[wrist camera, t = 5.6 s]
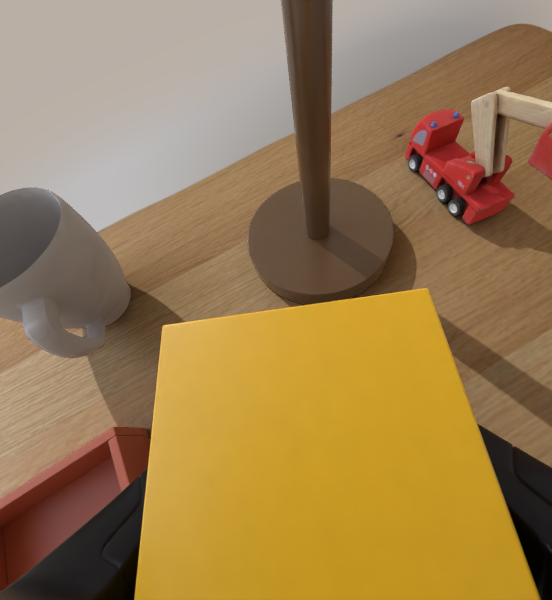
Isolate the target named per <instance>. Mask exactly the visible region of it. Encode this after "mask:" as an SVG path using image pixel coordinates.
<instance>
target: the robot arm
mask: <svg viewBox="0 0 552 600" xmlns="http://www.w3.org/2000/svg"><path fill="white" fill-rule="evenodd" d="M478 427H479V430H480V433H481V436H482V438H483V441H484V444H485V447H486V449H487V452H488V455H489V458H490V460H491V463H492V466H493V469H494V471H495V474H496V477H497V480H498V483H499V485H500V488H501V491H502V494H503V496H504V499H505V502H506V505H507V507H508V510H509V513H510V516H511V518H512V521H513V524H514V527H515V530H516V532H517V535H518V538H519V541H520V543H521V546H522V549H523V552H524V554H525V557H526V560H527V563H528V565H529V568H530V571H531V574H532V577H533V579H534V582H535V585H536V588H537V590H538V593H539V596H540V599H541V600H552V468H551V467H549V466H548V465H546V464H544V463H542V462H541V461H539V460H537V459H535V458H534V457H532V456H530V455H529V454H527V453H525V452H524V451H522V450H520V449H519V448H517V447H513V446H512V444H510V443H509V442H507V441H505V440H504V439H502V438H500V437H499V436H497V435H495V434H494V433H492V432H490V431H489V430H487V429H485V428H484V427H482V426H480V425H479V424H478ZM147 471H148V468H147V469H145V470H144V471H143V472H142V473H141V475H140V477H139V476H138V477H137V478H136V479H135V480H134V481H133V482H132V483H130V484H129V485H128V486H127V487H126V488H125V489H124V490H123V491H122V492H121V493H120V494H119V495H117V496H116V497H115V498H114V499H113V500H112V501H111V502H110V503H109V504H107V505H106V506H105V507H104V508H103V509H102V510H101V511H99V512H98V513H97V514H96V515H95V516H93V517H92V518H91V519H90V520H89V521H88V522H86V523H85V524H84V525H83V526H82V527H80V528H79V529H78V530H77V531H76V532H74V533H73V534H72V535H71V536H70V537H68V538H67V539H66V540H65V541H64V542H62V543H61V544H60V545H59V546H58V547H56V548H55V549H54V550H53V551H52V552H50V553H49V554H48V555H47V556H46V557H44V558H43V559H42V560H41V561H39V562H38V563H37V564H36V565H35V566H33V567H32V568H31V569H30V570H29V571H27V572H26V573H25V574H24V575H22V576H21V577H20V578H19V579H17V580H16V581H15V582H14V583H12V584H11V585H9V586H8V587H6V588H5V589H3V590H2V591H0V600H134V598H135V588H136V578H137V568H138V559H139V549H140V539H141V530H142V520H143V510H144V500H145V491H146V481H147Z"/></svg>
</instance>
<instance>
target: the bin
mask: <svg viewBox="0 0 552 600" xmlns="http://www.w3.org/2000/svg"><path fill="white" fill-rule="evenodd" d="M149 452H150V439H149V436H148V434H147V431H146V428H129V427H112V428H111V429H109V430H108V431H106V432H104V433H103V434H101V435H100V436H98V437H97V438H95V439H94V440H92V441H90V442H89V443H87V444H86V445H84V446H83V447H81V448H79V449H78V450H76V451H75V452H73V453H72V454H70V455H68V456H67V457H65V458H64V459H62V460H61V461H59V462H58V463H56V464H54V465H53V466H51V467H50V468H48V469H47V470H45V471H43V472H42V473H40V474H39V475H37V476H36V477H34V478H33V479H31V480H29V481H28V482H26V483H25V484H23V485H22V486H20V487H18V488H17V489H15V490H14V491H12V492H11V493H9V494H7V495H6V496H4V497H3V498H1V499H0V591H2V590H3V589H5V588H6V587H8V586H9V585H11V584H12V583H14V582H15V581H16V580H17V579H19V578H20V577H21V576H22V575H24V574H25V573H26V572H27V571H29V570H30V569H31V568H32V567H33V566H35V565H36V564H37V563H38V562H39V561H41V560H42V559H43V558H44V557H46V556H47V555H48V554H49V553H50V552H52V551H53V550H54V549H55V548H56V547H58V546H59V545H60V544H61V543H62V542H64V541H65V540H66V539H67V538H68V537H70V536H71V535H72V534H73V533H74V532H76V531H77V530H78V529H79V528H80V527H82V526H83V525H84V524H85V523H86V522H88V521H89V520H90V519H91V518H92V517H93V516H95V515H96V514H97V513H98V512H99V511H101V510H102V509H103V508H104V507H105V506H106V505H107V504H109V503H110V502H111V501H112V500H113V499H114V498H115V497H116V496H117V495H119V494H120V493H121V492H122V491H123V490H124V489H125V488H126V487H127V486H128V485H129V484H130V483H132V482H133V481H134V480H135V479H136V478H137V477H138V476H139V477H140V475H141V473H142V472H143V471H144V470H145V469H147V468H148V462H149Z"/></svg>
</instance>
